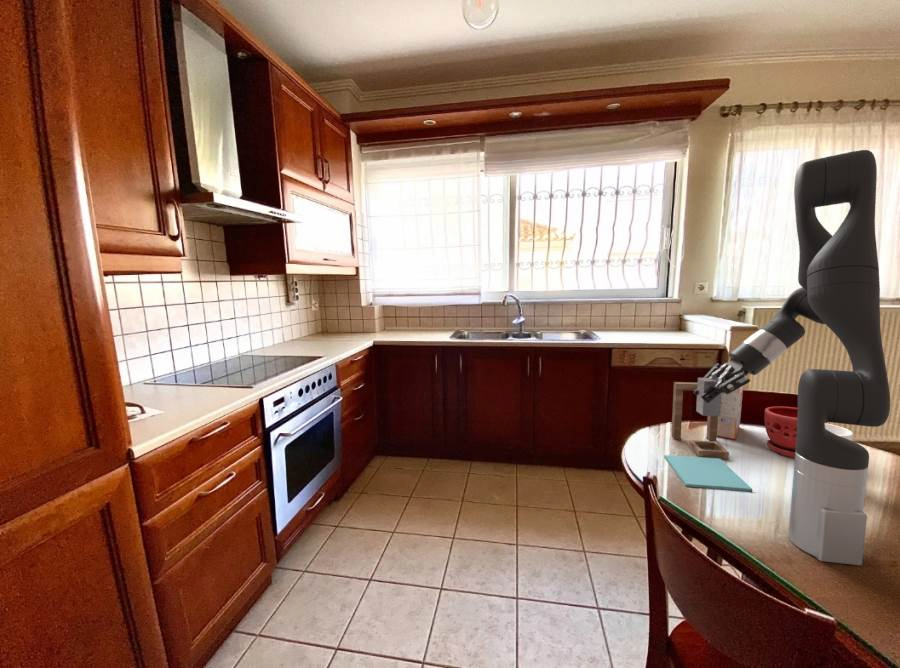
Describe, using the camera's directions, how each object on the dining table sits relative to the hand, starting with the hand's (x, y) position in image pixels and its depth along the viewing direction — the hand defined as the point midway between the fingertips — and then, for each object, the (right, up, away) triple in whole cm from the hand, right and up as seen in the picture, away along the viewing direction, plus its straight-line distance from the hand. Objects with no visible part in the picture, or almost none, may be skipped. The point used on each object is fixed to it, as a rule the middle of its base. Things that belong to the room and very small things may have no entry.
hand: (700, 397), depth 98 cm
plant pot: (+33, -18, +10) cm, 39 cm away
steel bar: (+2, -4, 0) cm, 5 cm away
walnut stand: (+10, -18, +15) cm, 25 cm away
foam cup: (+26, -20, -5) cm, 33 cm away
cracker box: (+26, -16, +26) cm, 40 cm away
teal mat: (+1, -20, 0) cm, 20 cm away
